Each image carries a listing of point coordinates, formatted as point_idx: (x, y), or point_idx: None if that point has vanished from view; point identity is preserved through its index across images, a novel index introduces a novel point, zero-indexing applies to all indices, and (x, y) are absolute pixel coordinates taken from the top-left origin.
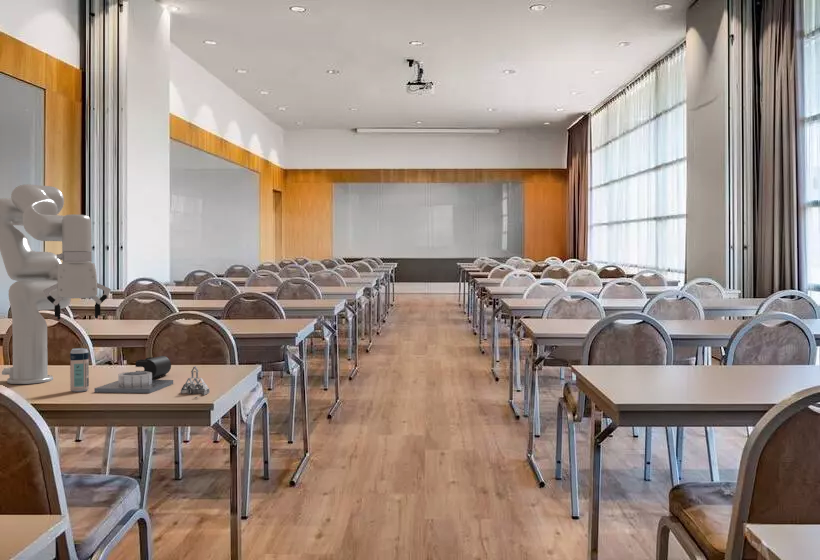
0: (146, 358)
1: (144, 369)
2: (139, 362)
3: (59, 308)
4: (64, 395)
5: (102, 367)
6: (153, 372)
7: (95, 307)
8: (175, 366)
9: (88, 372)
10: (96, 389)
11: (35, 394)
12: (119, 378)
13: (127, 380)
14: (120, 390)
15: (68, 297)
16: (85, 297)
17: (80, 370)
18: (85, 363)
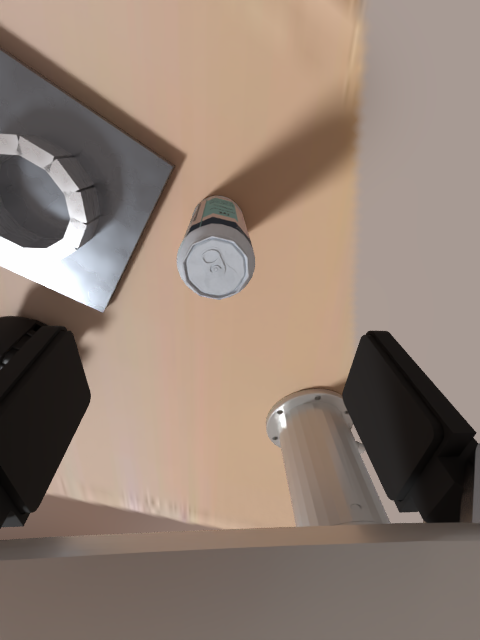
0: None
1: None
2: None
3: (425, 403)
4: (264, 154)
5: (170, 505)
6: (2, 321)
7: (1, 407)
8: None
9: (187, 229)
10: (167, 162)
11: (334, 221)
12: (82, 185)
13: (48, 147)
14: (81, 104)
15: (433, 536)
16: (45, 548)
17: (214, 207)
18: (194, 221)
